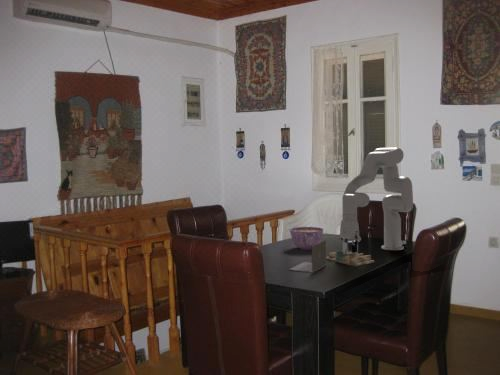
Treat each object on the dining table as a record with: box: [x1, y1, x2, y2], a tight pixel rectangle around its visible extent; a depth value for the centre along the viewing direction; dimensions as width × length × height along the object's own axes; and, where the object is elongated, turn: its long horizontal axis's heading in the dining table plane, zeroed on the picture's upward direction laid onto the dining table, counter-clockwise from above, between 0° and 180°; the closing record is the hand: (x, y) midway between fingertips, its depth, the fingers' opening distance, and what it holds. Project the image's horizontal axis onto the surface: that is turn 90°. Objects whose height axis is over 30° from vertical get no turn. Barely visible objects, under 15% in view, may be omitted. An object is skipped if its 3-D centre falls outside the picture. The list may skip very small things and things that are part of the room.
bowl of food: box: [289, 226, 324, 251], centre depth 303 cm, size 20×20×12 cm
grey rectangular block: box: [342, 240, 359, 256], centre depth 268 cm, size 3×8×9 cm, turn 122°
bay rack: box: [326, 250, 375, 267], centre depth 268 cm, size 14×22×6 cm, turn 32°
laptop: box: [288, 240, 327, 274], centre depth 254 cm, size 18×12×13 cm
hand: (350, 251), depth 268 cm, fingers open, 6 cm apart
